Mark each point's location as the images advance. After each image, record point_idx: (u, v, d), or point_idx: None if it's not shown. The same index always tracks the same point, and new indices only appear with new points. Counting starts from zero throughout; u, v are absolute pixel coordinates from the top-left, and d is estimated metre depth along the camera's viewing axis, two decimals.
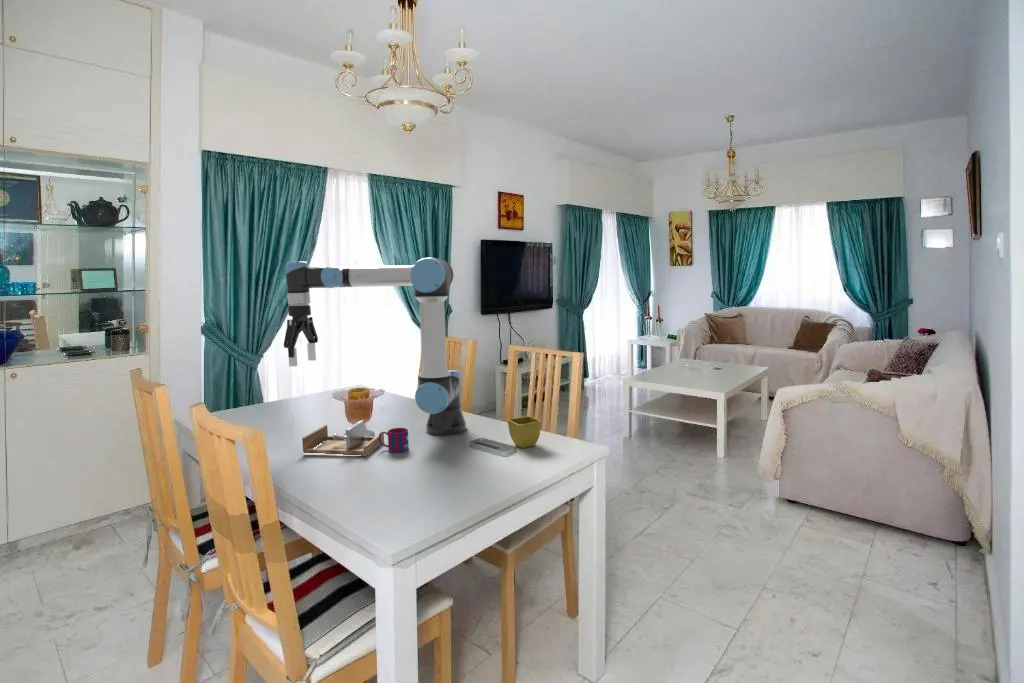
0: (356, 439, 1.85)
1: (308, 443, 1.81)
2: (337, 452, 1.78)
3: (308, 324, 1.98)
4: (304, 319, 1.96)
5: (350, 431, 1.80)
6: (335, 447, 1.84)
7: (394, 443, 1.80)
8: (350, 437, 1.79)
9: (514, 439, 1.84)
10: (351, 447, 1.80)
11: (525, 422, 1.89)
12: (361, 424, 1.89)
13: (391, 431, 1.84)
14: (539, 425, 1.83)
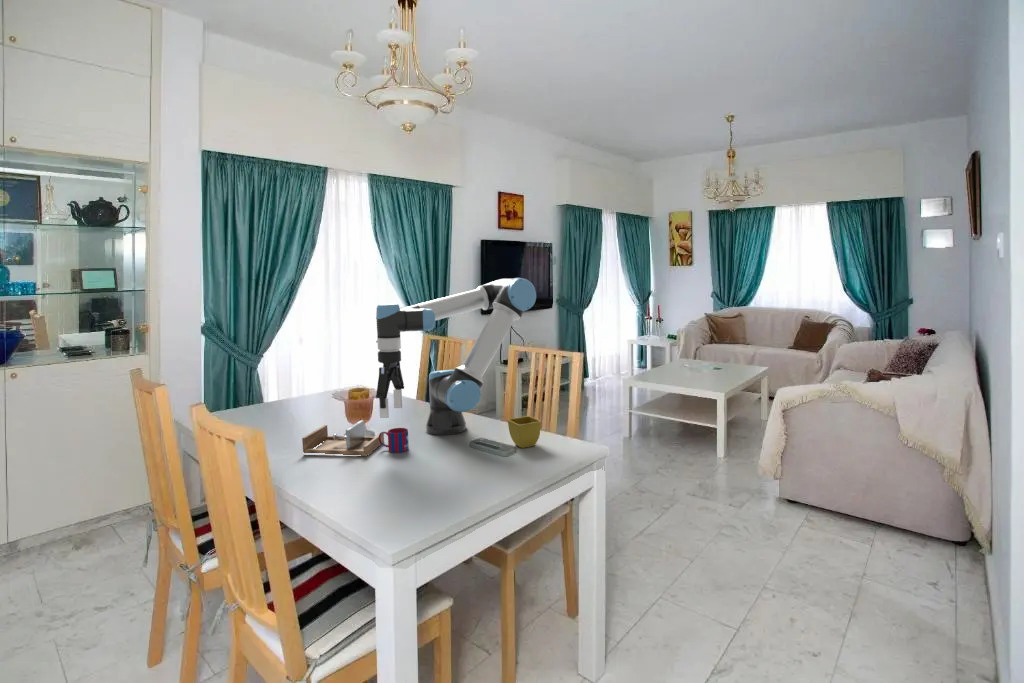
0: (356, 439, 1.85)
1: (308, 443, 1.81)
2: (337, 452, 1.78)
3: (397, 370, 1.83)
4: (394, 365, 1.82)
5: (350, 431, 1.80)
6: (335, 447, 1.84)
7: (394, 443, 1.80)
8: (350, 437, 1.79)
9: (514, 439, 1.84)
10: (351, 447, 1.80)
11: (525, 422, 1.89)
12: (361, 424, 1.89)
13: (391, 431, 1.84)
14: (539, 425, 1.83)
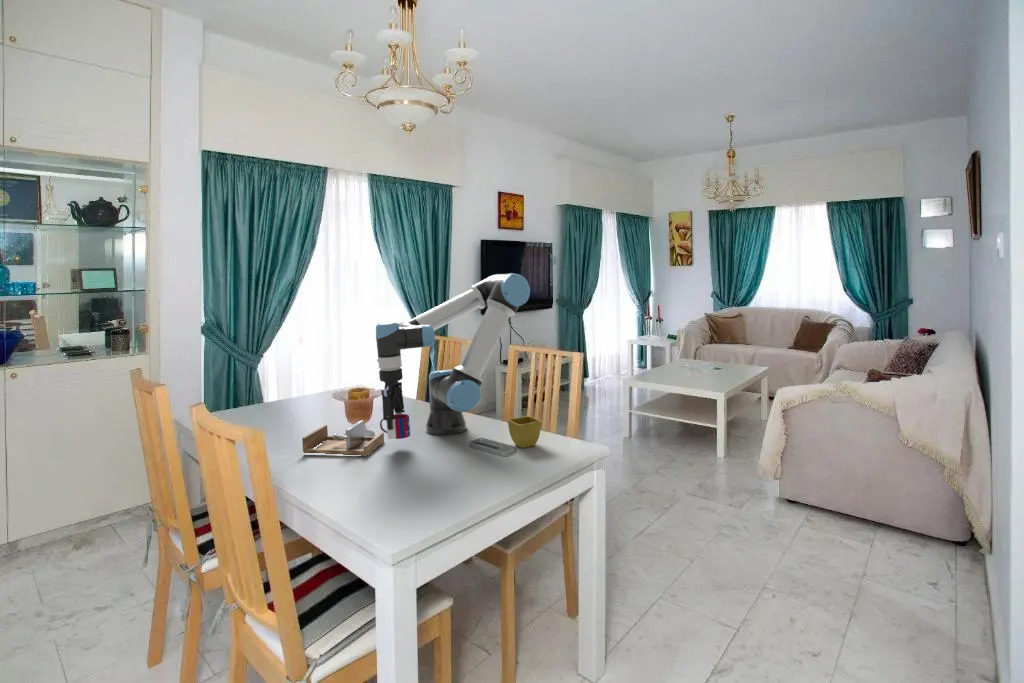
0: (356, 439, 1.85)
1: (308, 443, 1.81)
2: (337, 452, 1.78)
3: (399, 389, 1.84)
4: (395, 381, 1.83)
5: (350, 431, 1.80)
6: (335, 447, 1.84)
7: None
8: (350, 437, 1.79)
9: (514, 439, 1.84)
10: (351, 447, 1.80)
11: (525, 422, 1.89)
12: (361, 424, 1.89)
13: None
14: (539, 425, 1.83)
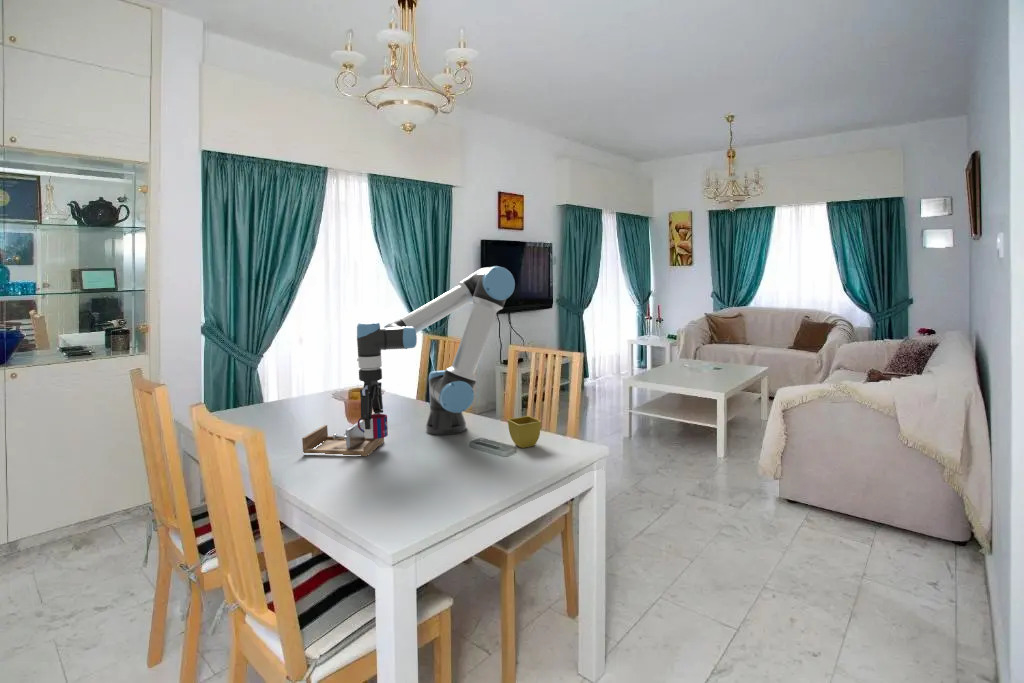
0: (356, 439, 1.85)
1: (308, 443, 1.81)
2: (337, 452, 1.78)
3: (378, 389, 1.84)
4: (375, 381, 1.83)
5: (350, 431, 1.80)
6: (335, 447, 1.84)
7: (373, 429, 1.80)
8: (350, 437, 1.79)
9: (514, 439, 1.84)
10: (351, 447, 1.80)
11: (525, 422, 1.89)
12: (361, 424, 1.89)
13: None
14: (539, 425, 1.83)
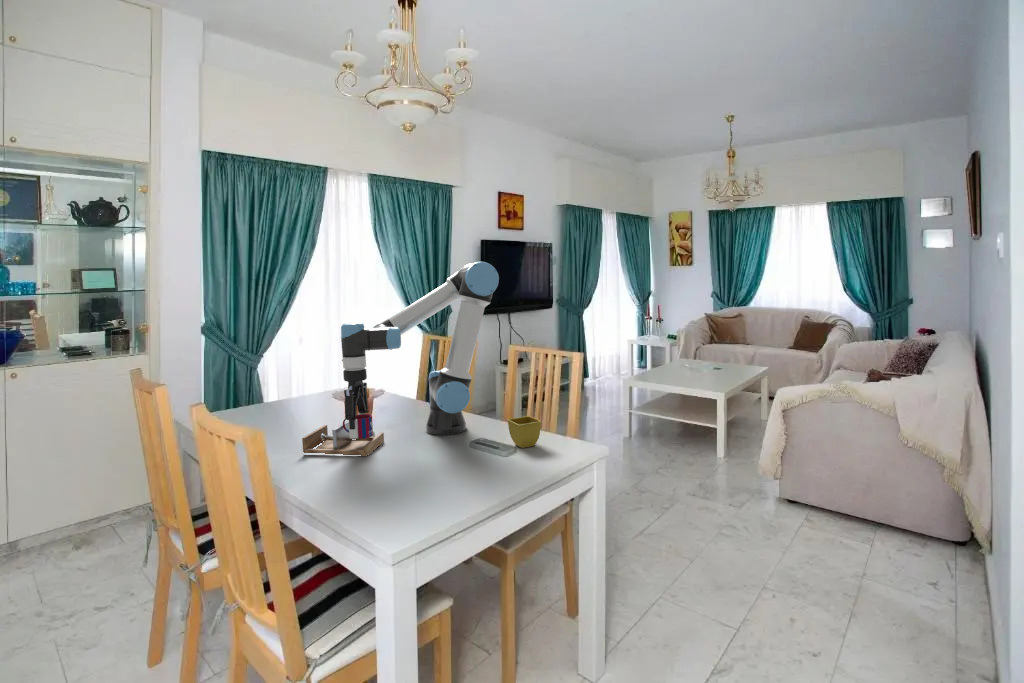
0: (343, 439, 1.85)
1: (308, 443, 1.81)
2: (337, 452, 1.78)
3: (363, 389, 1.85)
4: (360, 381, 1.84)
5: (337, 431, 1.80)
6: None
7: None
8: (336, 437, 1.80)
9: (514, 439, 1.84)
10: (338, 447, 1.81)
11: (525, 422, 1.89)
12: (348, 424, 1.89)
13: None
14: (539, 425, 1.83)
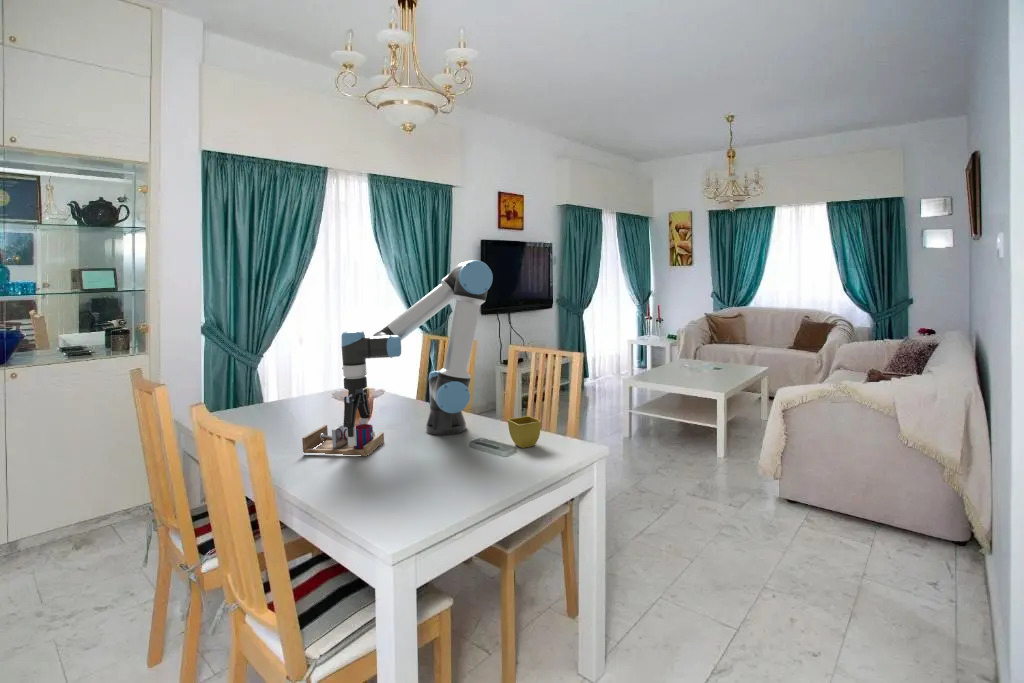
0: (343, 439, 1.85)
1: (308, 443, 1.81)
2: (337, 452, 1.78)
3: (363, 397, 1.86)
4: (360, 390, 1.84)
5: (336, 431, 1.80)
6: None
7: (358, 439, 1.82)
8: (336, 437, 1.80)
9: (514, 439, 1.84)
10: (337, 447, 1.81)
11: (525, 422, 1.89)
12: None
13: (356, 427, 1.86)
14: (539, 425, 1.83)
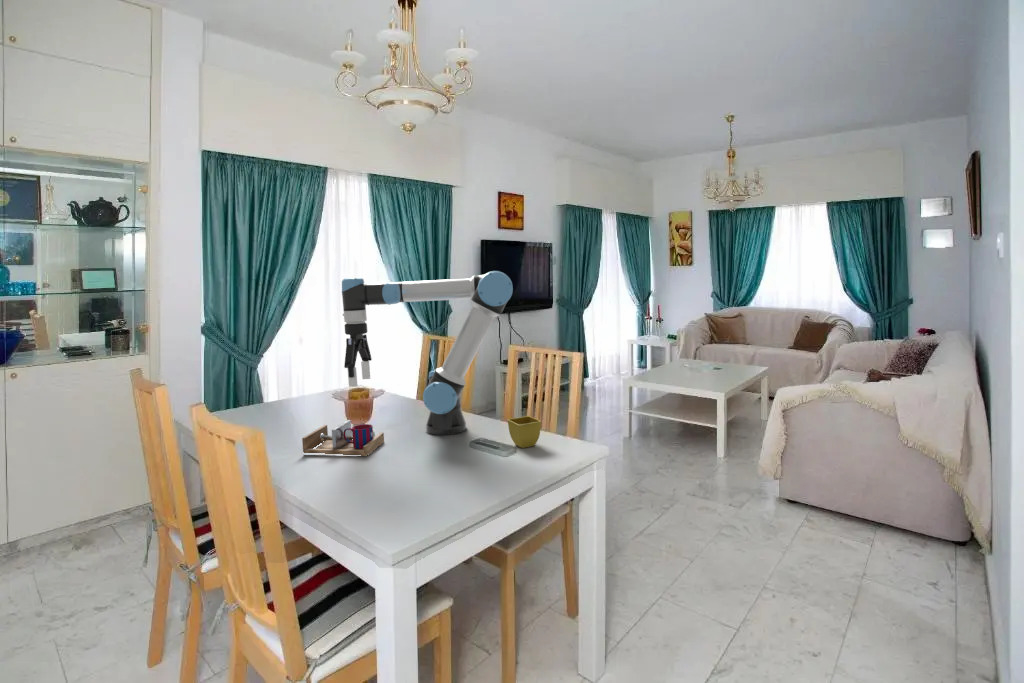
0: (343, 439, 1.85)
1: (308, 443, 1.81)
2: (337, 452, 1.78)
3: (364, 342, 1.91)
4: (360, 337, 1.90)
5: (336, 431, 1.80)
6: None
7: (358, 439, 1.82)
8: (336, 437, 1.80)
9: (514, 439, 1.84)
10: (337, 447, 1.81)
11: (525, 422, 1.89)
12: (348, 424, 1.89)
13: (356, 427, 1.86)
14: (539, 425, 1.83)
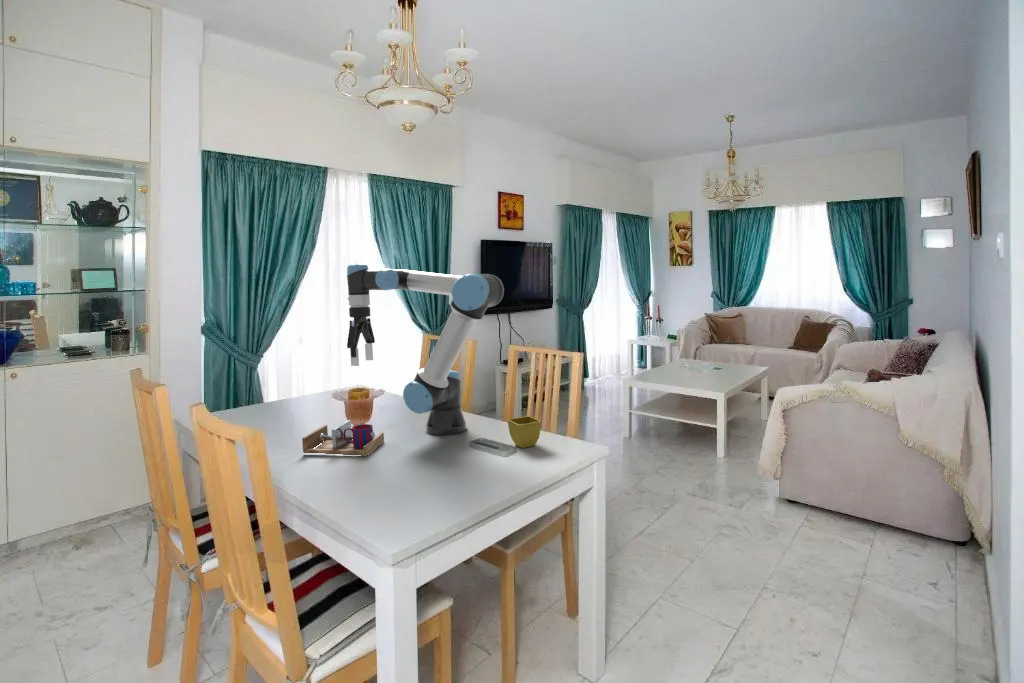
0: (343, 439, 1.85)
1: (308, 443, 1.81)
2: (337, 452, 1.78)
3: (367, 325, 2.04)
4: (364, 320, 2.02)
5: (336, 431, 1.80)
6: None
7: (358, 439, 1.82)
8: (336, 437, 1.80)
9: (514, 439, 1.84)
10: (337, 447, 1.81)
11: (525, 422, 1.89)
12: (348, 424, 1.89)
13: (356, 427, 1.86)
14: (539, 425, 1.83)
